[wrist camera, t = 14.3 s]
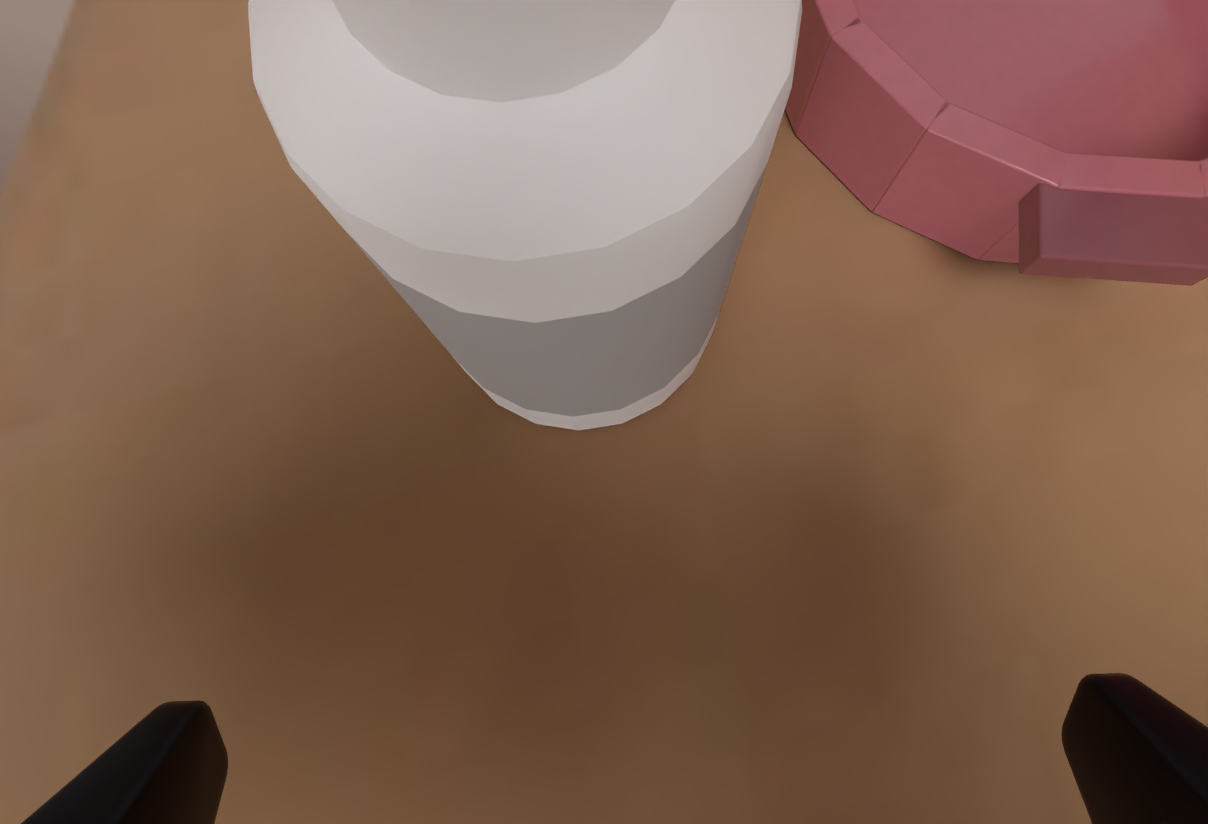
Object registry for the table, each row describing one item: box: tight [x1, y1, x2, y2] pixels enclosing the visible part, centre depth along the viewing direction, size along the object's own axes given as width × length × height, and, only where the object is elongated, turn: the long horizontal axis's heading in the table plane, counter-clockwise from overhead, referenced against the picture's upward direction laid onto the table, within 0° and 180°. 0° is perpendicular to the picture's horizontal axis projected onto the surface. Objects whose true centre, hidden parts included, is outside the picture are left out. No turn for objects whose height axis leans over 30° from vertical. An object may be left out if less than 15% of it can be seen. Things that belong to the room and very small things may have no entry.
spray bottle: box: [248, 0, 802, 430], centre depth 12 cm, size 7×7×18 cm
